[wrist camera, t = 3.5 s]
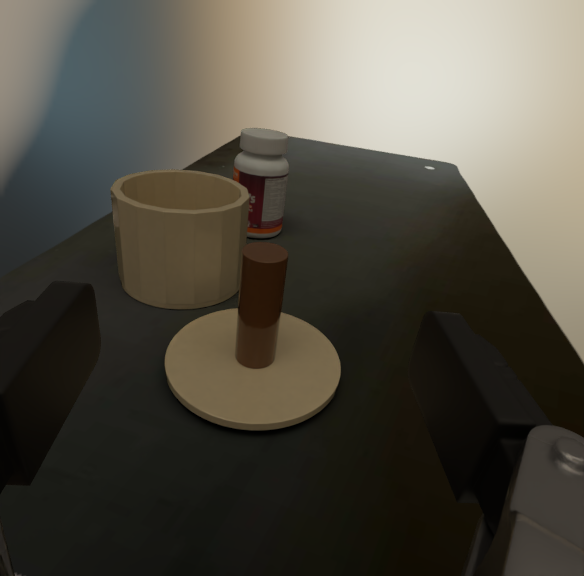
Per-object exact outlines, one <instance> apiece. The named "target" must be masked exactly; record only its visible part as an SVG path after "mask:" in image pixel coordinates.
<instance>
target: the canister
mask: <svg viewBox="0 0 584 576" xmlns="http://www.w3.org/2000/svg"><path fill="white" fill-rule="evenodd" d="M249 199H250V197H249V193H248V190H247V188H245V187H244V186H242V185H241V184H240V183H238V182H237V181H234V180H231V179H228V178H225V177H222V176H220V175H215V174H210V173H204V172H199V171H189V170H151V171H145V172H139V173H133V174H129V175H127V176H124V177H122V178H120V179H117V180H116V181H115V182H114V184H113V185H112V187H111V200H112V210H113V220H114V231H115V241H116V251H117V261H118V272H119V278H120V279H121V285H122V287H123V289H124V290H125V292H126V293H127V294H129V295H130V296H131V297H133V298H134V299H136V300H138V301H140V302H142V303H145V304H148V305H151V306H155V307H160V308H167V309H196V308H203V307H208V306H212V305H215V304H218V303H221V302H223V301H225V300H227V299H229V298H230V297H232V296H233V295H235V294H236V293H237V292H238V290H239V283H240V268H241V253H242V248H243V247H244V246H245V245H246V240H247V226H248V212H249Z"/></svg>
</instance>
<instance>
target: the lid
mask: <svg viewBox="0 0 584 576" xmlns="http://www.w3.org/2000/svg"><path fill="white" fill-rule="evenodd" d="M287 262H288V252H287V250H286V249H284V248H283V247H281V246H279V245H277V244H273V243H268V242H254V243H250V244H247V245H245V246H244V247H243V248H242V253H241V268H240V283H239V298H238V308H236V309H227V310H222V311H218V312H214V313H210V314H208V315H205V316H202V317H200V318H198V319H196V320H194V321H192V322H191V323H189V324H187V325H186V326H185V327H184V328H182V329H181V330H180V331H179V332H178V333H177V334H176V335H175V336H174V338H173V339H172V341H171V342H170V344H169V346H168V348H167V351H166V355H165V375H166V380H167V382H168V385H169V387H170V389H171V391H172V392H173V394H174V395H175V397H176V398H177V399H178V400H179V401H180V402H181V403H182V404H183V405H184V406H185V407H186V408H188V409H189V410H190V411H191V412H193V413H195V414H196V415H198V416H200V417H201V418H204V419H206V420H208V421H210V422H213V423H216V424H219V425H222V426H225V427H230V428H235V429H242V430H273V429H280V428H284V427H289V426H292V425H295V424H298V423H301V422H303V421H305V420H307V419H309V418H311V417H313V416H314V415H315V414H317V413H318V412H320V411H321V410H322V409H323V408H324V407H325V406H326V405H327V404H328V403H329V402H330V401H331V399H332V398H333V396H334V394H335V392H336V390H337V387H338V384H339V380H340V374H341V366H340V360H339V357H338V354H337V352H336V350H335V348H334V346H333V345H332V344H331V342H330V341H329V340H328V339H327V338H326V337H325V335H323V334H322V333H321V332H320V331H319V330H318V329H316V328H315V327H313V326H312V325H310V324H308V323H307V322H305V321H303V320H301V319H298V318H296V317H294V316H291V315H288V314H285V313H281V309H282V301H283V293H284V286H285V278H286V270H287Z"/></svg>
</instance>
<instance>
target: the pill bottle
mask: <svg viewBox="0 0 584 576" xmlns="http://www.w3.org/2000/svg"><path fill="white" fill-rule="evenodd" d="M287 145H288V135H287V134H285V133H282V132H279V131H274V130H269V129H261V128H246V129H243V130H242V131H241V140H240V148H241V149H243V150H244V151H243V152H241V153H240V154H238V155H237V156H236V158H235V161H234V176H233V180H234V181H237V182H238V183H240V184H241V185H242V186H244V187H245V188H247V190H248V193H249V197H250V199H249V212H248V226H247V237H249V238H258V239H262V238H270V237H274V236H276V235H278V234H279V233H280V231H281V228H282V221H283V213H284V205H285V197H286V188H287V180H288V172H289V164H288V162H287V160H286V159H285V158H284V157H283V156H282V154H285V153H287Z"/></svg>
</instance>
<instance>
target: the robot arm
mask: <svg viewBox="0 0 584 576" xmlns="http://www.w3.org/2000/svg"><path fill="white" fill-rule="evenodd" d="M100 346H101V337H100V329H99V322H98V314H97V307H96V300H95V293H94V289H93V287H92V285H91V284H89V283H76V282H64V281H54V282H52V283H51V284H50V285H49V286H48V287H47V288H46V290H45V291H44V292H43V293H42V294H41V295H40V296H39V297H38V298H37V299H36V301H29V300H27V301H25V302H23V303H22V304H20V305H18V306H16V307H14V308H12V309H11V310H9V311H7V312H5V313H4V314H3V315H2V316H1V317H0V493H1V492H2V490H3V488H4V487H5V485H26V486H30V484H31V482H32V481H33V479H34V477H35V475H36V473H37V471H38V470H39V468H40V466H41V464H42V462H43V460H44V459H45V457H46V455H47V453H48V451H49V449H50V448H51V446H52V444H53V442H54V440H55V438H56V437H57V435H58V433H59V431H60V429H61V427H62V426H63V424H64V422H65V420H66V418H67V416H68V414H69V413H70V411H71V409H72V407H73V405H74V403H75V402H76V400H77V398H78V396H79V394H80V392H81V391H82V389H83V387H84V385H85V383H86V381H87V380H88V378H89V376H90V374H91V372H92V370H93V369H94V367H95V365H96V363H97V360H98V357H99V353H100ZM408 378H409V383H410V386H411V388H412V391H413V393H414V396H415V398H416V401H417V403H418V406H419V408H420V411H421V413H422V416H423V418H424V421H425V423H426V426H427V428H428V431H429V433H430V436H431V438H432V441H433V443H434V446H435V448H436V451H437V453H438V456H439V458H440V461H441V463H442V466H443V468H444V471H445V473H446V476H447V478H448V481H449V483H450V486H451V488H452V491H453V493H454V496H455V498H456V501H457V502H460V503H479V505H480V507H481V509H482V511H483V514H482V516H481V517H480V519H479V521H478V524H477V527H476V530H475V533H474V536H473V540H472V543H471V546H470V549H469V552H468V555H467V558H466V562H465V565H464V568H463V571H462V574H461V576H584V438H583V437H581V436H579V435H577V434H576V433H574V432H571V431H569V430H567V429H564V428H561V427H557V426H553V425H552V424H551V422H550V421H549V420H548V418H547V417H546V416H545V414H544V413H543V411H542V410H541V409H540V407H539V406H538V405H537V403H536V402H535V400H534V399H533V398H532V396H531V395H530V394H529V392H528V391H527V389H526V388H525V387H524V385H523V384H522V383H521V381H520V380H517V376H516V374H515V373H514V372H513V370H512V369H511V367H508V363H507V362H506V361H505V359H504V358H503V356H502V355H501V354H500V352H499V351H498V350H497V348H495V347H494V346H493V345H492V344H490V343H489V342H488V341H486V340H485V339H484V338H483V337H481V336H480V335H476V334H474V333H473V331H472V330H471V328H470V327H469V325H468V324H467V322H466V321H465V319H464V318H463V317H462V315H460V314H458V313H448V312H435V311H428V312H427V313H426V314H425V315H424V317H423V320H422V322H421V325H420V329H419V332H418V335H417V338H416V341H415V344H414V347H413V350H412V353H411V356H410V359H409V364H408ZM0 576H15V574H14V570H13V566H12V562H11V558H10V554H9V550H8V546H7V542H6V538H5V534H4V530H3V526H2V522H1V518H0Z"/></svg>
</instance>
